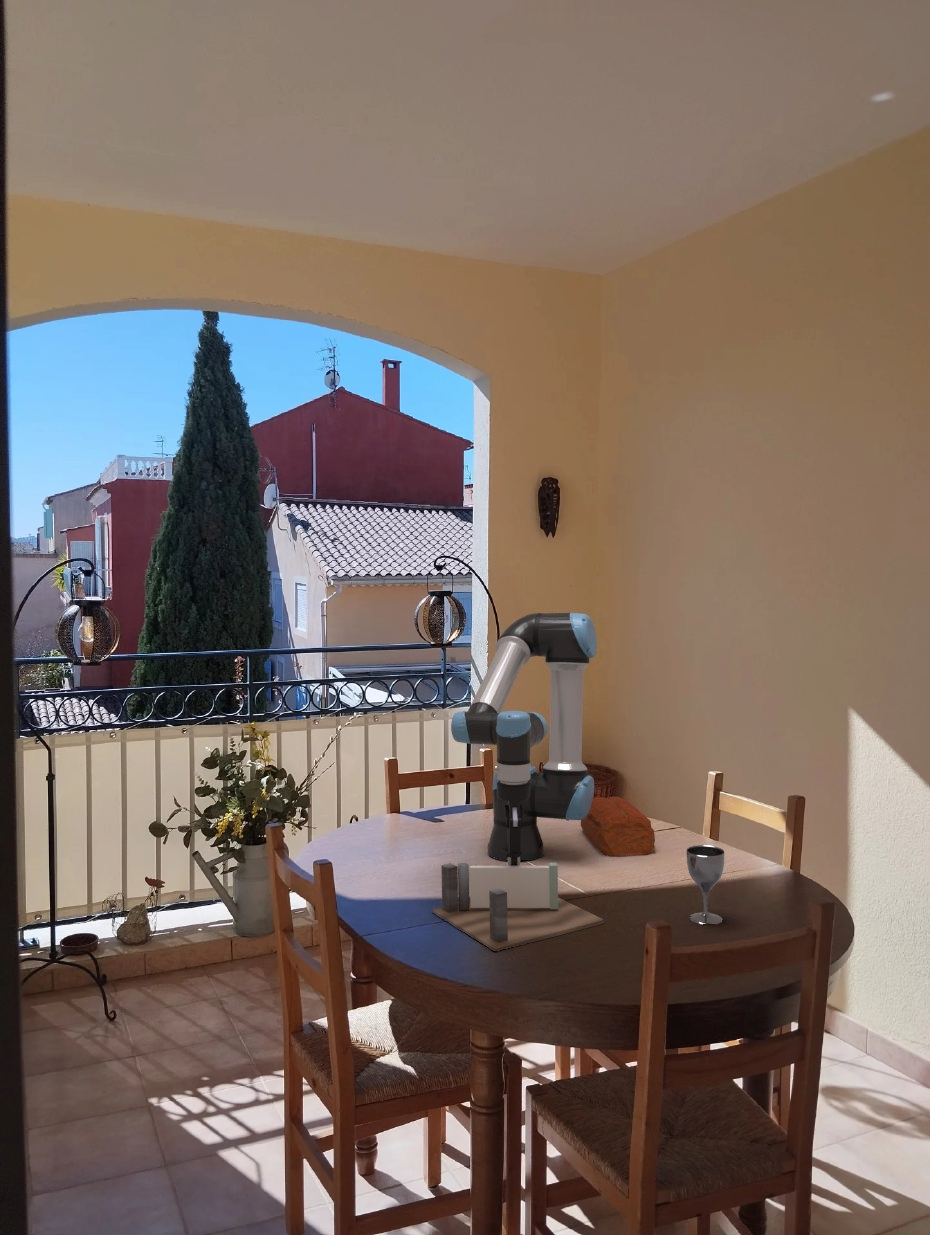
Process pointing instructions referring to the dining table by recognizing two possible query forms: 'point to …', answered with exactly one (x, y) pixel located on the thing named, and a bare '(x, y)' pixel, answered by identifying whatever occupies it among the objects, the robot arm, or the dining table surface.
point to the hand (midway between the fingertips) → (513, 884)
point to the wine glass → (705, 876)
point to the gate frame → (509, 917)
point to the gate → (509, 885)
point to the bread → (618, 828)
